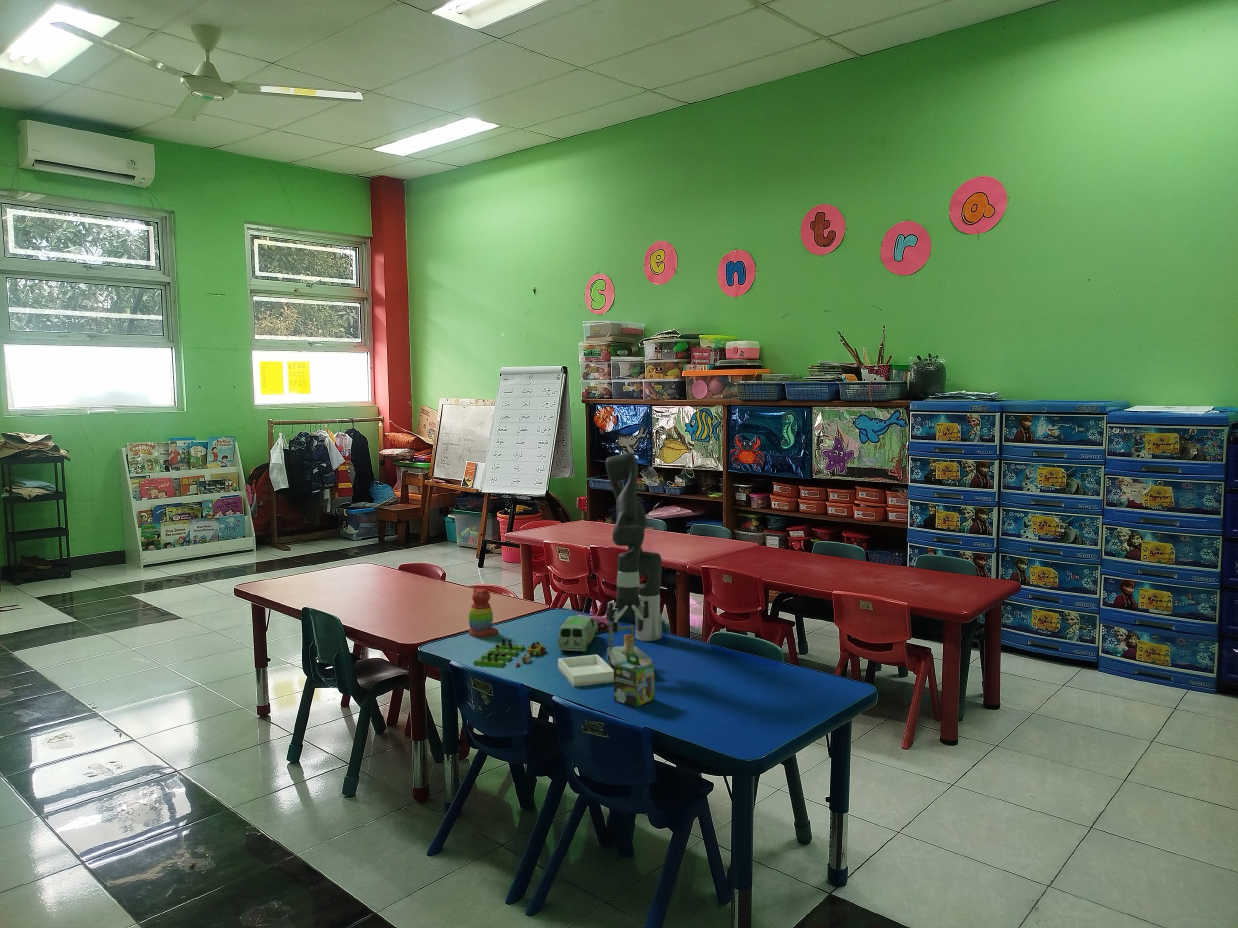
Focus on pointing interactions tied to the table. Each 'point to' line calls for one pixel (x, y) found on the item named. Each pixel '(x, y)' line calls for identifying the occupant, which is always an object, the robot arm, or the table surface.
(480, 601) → the stacking bear
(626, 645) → the pin
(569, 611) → the table surface
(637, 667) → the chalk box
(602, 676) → the parts tray
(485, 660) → the toy garden set
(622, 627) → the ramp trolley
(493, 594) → the table surface
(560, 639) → the toy car
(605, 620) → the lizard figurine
